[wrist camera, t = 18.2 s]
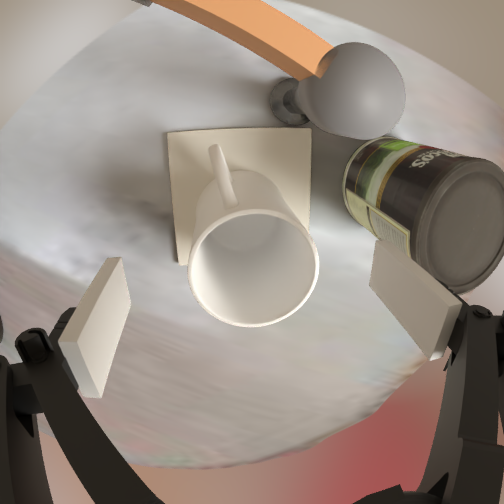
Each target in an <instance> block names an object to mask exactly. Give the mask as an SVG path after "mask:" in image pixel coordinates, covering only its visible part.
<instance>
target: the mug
mask: <svg viewBox="0 0 504 504" xmlns="http://www.w3.org/2000/svg"><path fill="white" fill-rule="evenodd" d="M208 152H209V157H210V161H211V165H212V169H213V172H214V175H215V179H214V180H213V181H212V182H210V183H209V184H208V185H207V186H206V188H205V189H204V190H203V192H202V193H201V195H200V197H199V200H198V202H197V206H196V224H195V229H194V234H193V239H192V244H191V249H190V254H189V260H188V281H189V285H190V288H191V291H192V293H193V295H194V297H195V299H196V300H197V302H198V303H199V304H200V305H201V307H202V308H203V309H204V310H205V311H207V312H208V313H209V314H210V315H212V316H213V317H215V318H217V319H218V320H220V321H223V322H225V323H228V324H231V325H235V326H241V327H259V326H265V325H269V324H273V323H276V322H278V321H280V320H283V319H284V318H286V317H288V316H290V315H291V314H293V313H294V312H295V311H296V310H298V309H299V308H300V307H301V306H302V305H303V304H304V303H305V301H306V300H307V299H308V297H309V296H310V294H311V293H312V291H313V289H314V287H315V284H316V281H317V278H318V273H319V257H318V252H317V249H316V246H315V243H314V241H313V239H312V237H311V236H310V234H309V233H308V231H307V230H306V229H305V227H304V226H303V225H302V223H301V222H300V221H299V219H298V218H297V217H296V215H295V214H294V213H293V211H292V210H291V209H290V207H289V206H288V205H287V203H286V202H285V200H284V197H283V195H282V193H281V191H280V190H279V189H278V187H277V186H276V185H275V184H274V183H273V182H272V181H271V180H270V179H268V178H267V177H265V176H263V175H261V174H259V173H256V172H252V171H245V170H239V171H232V172H230V171H229V169H228V166H227V163H226V160H225V158H224V155H223V152H222V150H221V147H220V146H219V144H214V145H211V146H210V147H209V148H208Z"/></svg>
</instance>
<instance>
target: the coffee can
mask: <svg viewBox="0 0 504 504" xmlns="http://www.w3.org/2000/svg"><path fill="white" fill-rule="evenodd" d="M342 192H343V198H344V202H345V205H346V207H347V209H348V211H349V213H350V214H351V216H352V217H353V218H354V219H355V220H356V221H357V222H358V223H359V224H361V225H362V226H364V227H365V228H366V229H367V230H369V231H370V232H371V233H372V234H373V235H374V236H375V237H377V238H378V239H379V240H389V241H390V242H391V243H392V244H394V245H395V246H396V247H397V248H399V249H400V250H401V251H402V252H404V253H405V254H406V255H407V256H408V257H410V258H411V259H412V260H413V261H414V262H416V263H417V264H418V265H419V266H420V267H422V268H423V269H424V270H425V271H426V272H428V273H429V274H430V275H431V276H432V277H433V278H436V279H438V280H440V281H442V282H443V283H445V284H446V285H447V286H448V287H449V289H451V290H453V291H454V293H456V294H457V295H458V296H459V295H463V294H465V293H468V292H470V291H471V290H473V289H475V288H476V287H478V286H479V285H480V284H482V283H483V282H484V281H485V280H486V279H487V278H488V277H489V276H490V275H491V274H492V272H493V271H494V270H495V269H496V267H497V266H498V264H499V262H500V261H501V259H502V257H503V256H504V172H503V171H502V170H501V169H500V167H498V166H497V165H496V164H494V163H493V162H491V161H488V160H486V159H481V158H475V157H469V156H465V155H462V154H458V153H455V152H450V151H446V150H442V149H438V148H435V147H430V146H426V145H421V144H417V143H413V142H408V141H403V140H400V139H397V138H393V137H379V138H375V139H372V140H370V141H368V142H366V143H365V144H363V145H362V146H361V147H359V148H358V149H357V150H356V151H355V153H354V154H353V155H352V157H351V158H350V160H349V162H348V164H347V166H346V169H345V172H344V176H343V183H342Z"/></svg>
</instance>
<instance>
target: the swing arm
mask: <svg viewBox="0 0 504 504" xmlns="http://www.w3.org/2000/svg"><path fill="white" fill-rule="evenodd" d="M133 1H135V2H138V3H140V4H143V5H145V6H148V7H149V6H150V5H151V3H152V2H154V3H156V4H159V5H161V6H163V7H166V8H168V9H170V10H173V11H175V12H177V13H179V14H181V15H184V16H186V17H188V18H190V19H192V20H194V21H196V22H198V23H200V24H202V25H204V26H206V27H208V28H210V29H212V30H214V31H216V32H218V33H220V34H222V35H224V36H226V37H228V38H229V39H231V40H233V41H235V42H237V43H238V44H240V45H242V46H244V47H245V48H247V49H249V50H251V51H252V52H254V53H256V54H257V55H259V56H261V57H262V58H264V59H266V60H267V61H269V62H270V63H272V64H274V65H275V66H277V67H278V68H280V69H282V70H283V71H285V72H286V73H288V74H289V75H291V76H292V77H294V78H295V79H297V80H298V81H299V85H298V95H299V100H300V104H301V106H302V109H303V111H304V112H305V114H306V116H307V117H308V118H309V120H310V121H311V122H312V123H313V124H314V125H316V126H317V127H318V128H320V129H321V130H323V131H325V132H327V133H331V134H334V135H340V136H345V137H350V138H355V139H361V140H369V139H375V138H378V137H381V136H383V135H385V134H387V133H388V132H389V131H391V130H392V129H393V128H394V127H395V126H396V124H397V123H398V122H399V120H400V118H401V116H402V114H403V111H404V107H405V101H406V93H405V86H404V82H403V79H402V76H401V74H400V72H399V70H398V68H397V67H396V65H395V64H394V63H393V61H392V60H391V59H390V58H389V57H388V56H387V55H386V54H384V53H383V52H382V51H380V50H379V49H377V48H375V47H373V46H371V45H368V44H364V43H358V42H351V43H344V44H341V45H338V46H336V47H333V46H332V45H330V44H329V43H327V42H326V41H325V40H323V39H322V38H320V37H319V36H318V35H316V34H315V33H313V32H312V31H310V30H309V29H307V28H306V27H304V26H303V25H301V24H300V23H298V22H296V21H295V20H293V19H292V18H290V17H288V16H287V15H285V14H283V13H282V12H280V11H278V10H277V9H275V8H273V7H272V6H270V5H268V4H266V3H265V2H263V1H261V0H133Z"/></svg>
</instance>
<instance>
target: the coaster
mask: <svg viewBox="0 0 504 504" xmlns="http://www.w3.org/2000/svg"><path fill="white" fill-rule="evenodd" d="M167 140H168V156H169V170H170V183H171V195H172V206H173V216H174V226H175V235H176V244H177V253H178V261H179V266H180V265H188V260H189V254H190V249H191V244H192V239H193V234H194V229H195V224H196V206H197V202H198V200H199V197H200V195H201V193H202V192H203V190H204V189H205V188H206V186H207V185H208V184H209V183H210V182H212V181H213V180H214V179H215V175H214V172H213V169H212V165H211V161H210V157H209V152H208V148H209V147H210V146H211V145H214V144H219V146H220V147H221V150H222V152H223V155H224V158H225V160H226V163H227V166H228V169H229V171H230V172H232V171H239V170H245V171H252V172H256V173H259V174H261V175H263V176H265V177H267V178H268V179H270V180H271V181H272V182H273V183H274V184H275V185H276V186H277V187H278V189H279V190H280V191H281V193H282V195H283V197H284V200H285V202H286V203H287V205H288V206H289V207H290V209H291V210H292V211H293V213H294V214H295V215H296V217H297V218H298V219H299V221H300V222H301V223H302V225H303V226H304V227H305V229H306V230H307V231H308V233H309V215H310V186H311V128H230V129H209V130H194V131H181V132H170V133H167Z"/></svg>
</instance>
